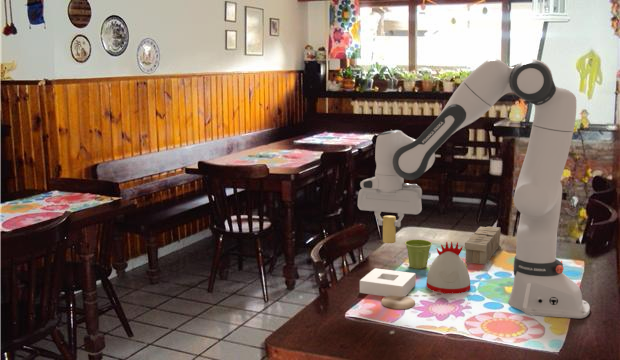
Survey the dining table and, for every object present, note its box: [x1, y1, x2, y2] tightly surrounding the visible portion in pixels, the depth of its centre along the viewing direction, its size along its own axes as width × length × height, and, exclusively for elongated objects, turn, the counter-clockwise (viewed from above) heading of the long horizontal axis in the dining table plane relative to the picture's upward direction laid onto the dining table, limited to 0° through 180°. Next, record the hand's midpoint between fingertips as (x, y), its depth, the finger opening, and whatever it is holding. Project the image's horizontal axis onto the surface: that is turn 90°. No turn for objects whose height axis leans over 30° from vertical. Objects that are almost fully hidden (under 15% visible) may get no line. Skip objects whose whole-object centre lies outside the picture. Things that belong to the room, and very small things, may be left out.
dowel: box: [382, 215, 397, 244], centre depth 205 cm, size 4×4×8 cm
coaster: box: [381, 295, 416, 310], centre depth 196 cm, size 10×10×1 cm
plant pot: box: [404, 239, 433, 270], centre depth 231 cm, size 9×9×9 cm
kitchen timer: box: [426, 241, 471, 295], centre depth 209 cm, size 14×14×15 cm
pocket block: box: [359, 267, 417, 297], centre depth 208 cm, size 14×14×4 cm
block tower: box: [464, 226, 501, 265], centre depth 246 cm, size 8×8×29 cm
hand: (389, 225), depth 205 cm, fingers closed on dowel, 4 cm apart
